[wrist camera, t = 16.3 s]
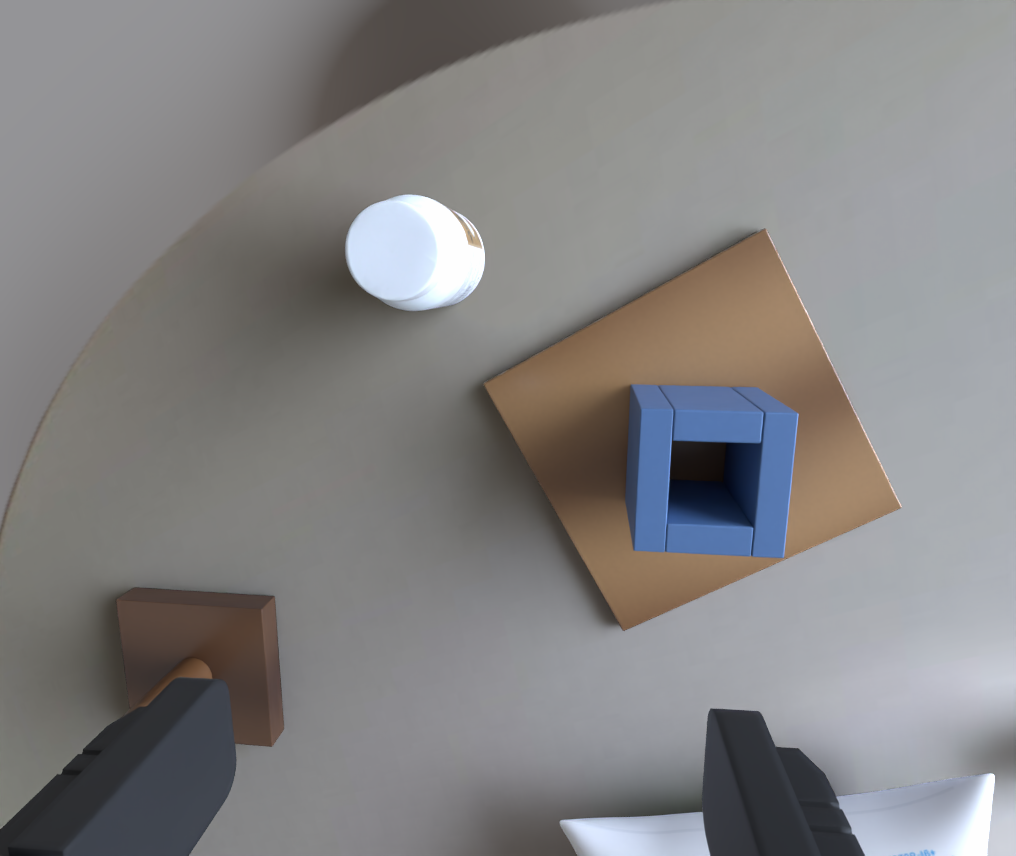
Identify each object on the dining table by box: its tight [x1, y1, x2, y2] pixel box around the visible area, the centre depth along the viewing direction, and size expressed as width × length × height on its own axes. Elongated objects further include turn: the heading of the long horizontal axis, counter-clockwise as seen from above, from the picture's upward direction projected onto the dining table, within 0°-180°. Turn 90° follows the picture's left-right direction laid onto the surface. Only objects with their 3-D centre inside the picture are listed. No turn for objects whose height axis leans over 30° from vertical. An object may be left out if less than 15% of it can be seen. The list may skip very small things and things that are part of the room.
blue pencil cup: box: [625, 384, 798, 558], centre depth 28 cm, size 6×6×6 cm
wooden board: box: [484, 229, 901, 631], centre depth 31 cm, size 14×14×1 cm
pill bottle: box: [345, 195, 485, 311], centre depth 27 cm, size 4×4×8 cm
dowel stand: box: [116, 588, 284, 747], centre depth 33 cm, size 8×8×9 cm
